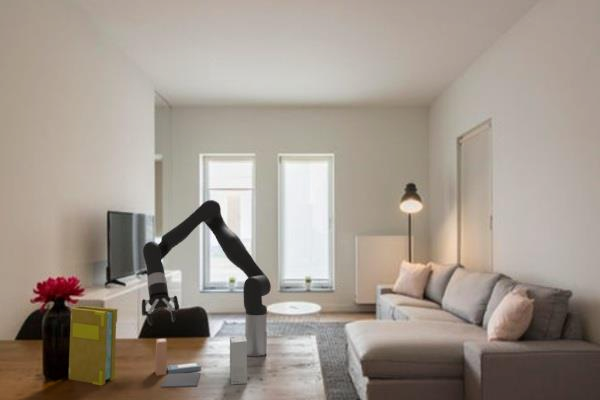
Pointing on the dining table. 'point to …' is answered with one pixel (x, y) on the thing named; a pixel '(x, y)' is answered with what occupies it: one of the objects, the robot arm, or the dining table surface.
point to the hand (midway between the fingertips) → (162, 322)
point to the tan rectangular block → (161, 356)
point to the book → (92, 344)
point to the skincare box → (238, 360)
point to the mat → (181, 380)
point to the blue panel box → (183, 368)
